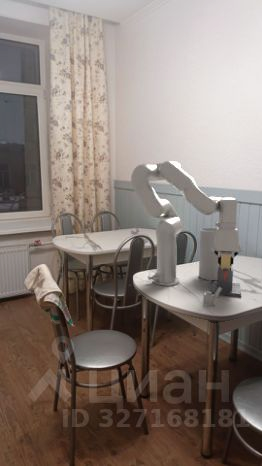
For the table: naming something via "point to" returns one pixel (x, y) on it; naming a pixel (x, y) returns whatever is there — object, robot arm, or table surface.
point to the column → (225, 260)
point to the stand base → (225, 283)
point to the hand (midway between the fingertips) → (225, 265)
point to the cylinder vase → (208, 255)
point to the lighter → (211, 297)
